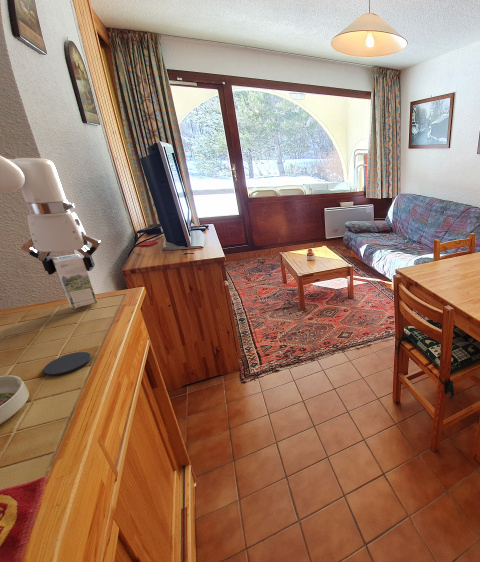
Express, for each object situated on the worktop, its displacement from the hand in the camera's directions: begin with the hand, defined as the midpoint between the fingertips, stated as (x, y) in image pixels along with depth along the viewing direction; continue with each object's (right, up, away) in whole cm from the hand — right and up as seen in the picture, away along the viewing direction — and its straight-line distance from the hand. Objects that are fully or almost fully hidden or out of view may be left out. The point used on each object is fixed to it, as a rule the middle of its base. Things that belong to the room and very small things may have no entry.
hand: (72, 270), depth 88 cm
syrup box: (0, -10, +4) cm, 11 cm away
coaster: (+19, -21, -20) cm, 35 cm away
